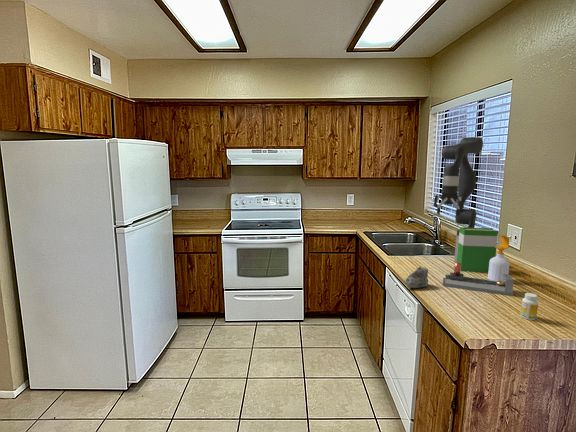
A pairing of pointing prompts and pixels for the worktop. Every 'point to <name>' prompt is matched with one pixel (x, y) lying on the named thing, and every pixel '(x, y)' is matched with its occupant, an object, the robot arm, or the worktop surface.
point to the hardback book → (476, 248)
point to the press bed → (482, 284)
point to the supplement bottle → (529, 306)
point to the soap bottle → (499, 262)
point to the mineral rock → (418, 278)
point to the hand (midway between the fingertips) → (447, 215)
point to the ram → (457, 273)
